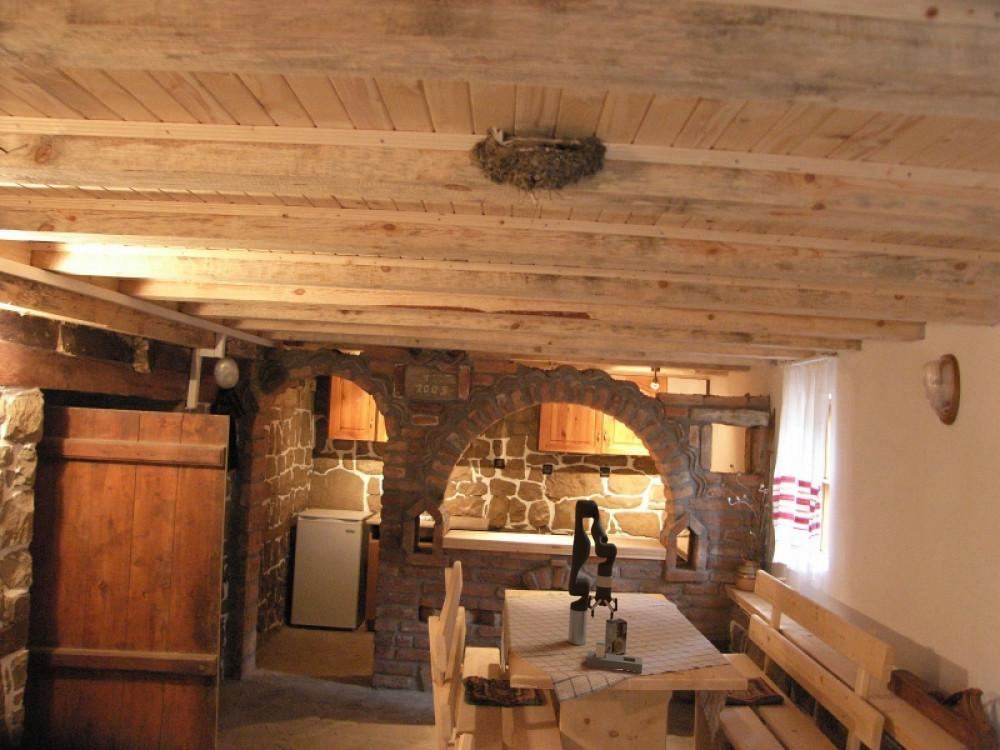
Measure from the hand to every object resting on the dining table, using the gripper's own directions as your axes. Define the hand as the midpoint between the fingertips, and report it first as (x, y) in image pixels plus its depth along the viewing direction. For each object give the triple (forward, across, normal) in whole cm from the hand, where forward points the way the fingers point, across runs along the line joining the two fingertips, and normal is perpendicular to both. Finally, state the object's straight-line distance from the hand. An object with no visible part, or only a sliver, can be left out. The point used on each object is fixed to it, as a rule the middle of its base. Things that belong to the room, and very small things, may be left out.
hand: (601, 618), depth 366 cm
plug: (+22, 0, 0) cm, 22 cm away
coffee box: (+22, -7, -21) cm, 31 cm away
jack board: (+22, -7, 0) cm, 23 cm away
